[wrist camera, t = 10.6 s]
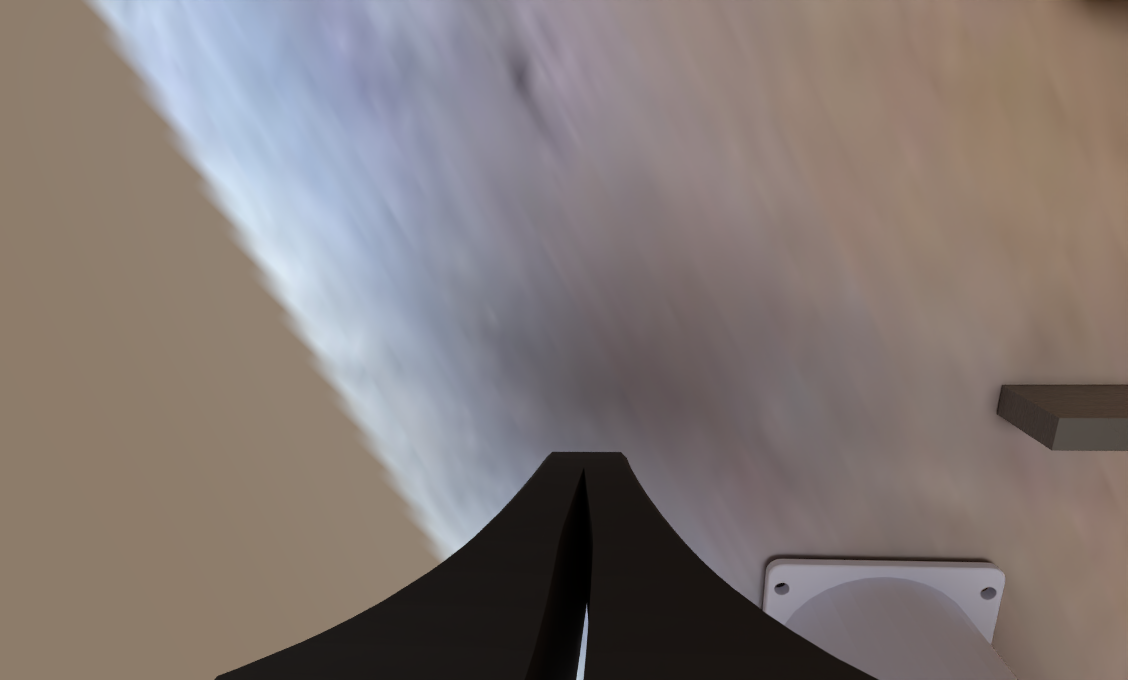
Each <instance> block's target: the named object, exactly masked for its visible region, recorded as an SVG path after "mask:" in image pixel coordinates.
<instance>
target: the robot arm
mask: <svg viewBox="0 0 1128 680" xmlns="http://www.w3.org/2000/svg"><path fill="white" fill-rule="evenodd" d="M778 583H786V584H785V585H784V586H782V587H775V586H776V585H777V584H778ZM1004 585H1005V575H1004V573H1003V572H1002V571H1001V570H1000V569H999V567H998V566H996V565H995V564H993V563H984V562H930V561H875V560H821V559H776V560H774V561H772V562H770V564H769V565H768V566H767V569H766V576H765V588H764V600H763V611H762V610H761V609H760V608H759V607H757V606H756V605H755V604H753V603H752V602H751V601H749V600H748V599H747V598H745V597H744V596H743V595H741V594H740V593H739V592H737V591H736V590H735V589H733V588H732V587H731V586H730V585H729V584H727V583H726V582H725V581H724V580H723V579H721V578H720V577H719V576H718V575H717V574H716V573H715V572H714V571H712V570H711V569H710V568H709V567H708V566H707V565H706V564H705V563H704V562H703V561H702V560H701V559H700V558H699V557H698V556H697V555H696V554H695V553H694V552H693V551H692V550H691V549H690V548H689V547H688V545H687V544H686V543H685V542H684V541H683V540H682V539H681V538H680V536H679V535H678V534H677V533H676V532H675V531H674V530H673V528H672V527H671V526H670V525H669V523H668V522H667V521H666V520H665V518H664V517H663V516H662V515H661V513H660V512H659V510H658V509H657V508H656V506H655V505H654V504H653V502H652V501H651V500H650V498H649V497H648V495H647V494H646V492H645V491H644V489H643V488H642V486H641V485H640V483H639V481H638V480H637V478H636V476H635V475H634V473H633V471H632V469H631V467H630V465H629V463H628V460H627V458H626V457H625V456H624V455H623V454H622V453H621V452H552V453H551V454H550V455H549V456H548V457H546V459H545V460H544V461H543V463H542V464H541V465H540V467H539V468H538V469H537V470H536V472H535V473H534V474H533V475H532V477H531V478H530V479H529V480H528V481H527V483H526V484H525V485H524V486H523V487H522V489H521V490H520V491H519V492H518V493H517V494H516V495H515V496H514V497H513V499H512V500H511V501H510V502H509V503H508V504H507V505H506V506H505V507H504V508H503V509H502V511H501V512H500V513H499V514H498V515H497V516H496V517H494V518H493V519H492V520H491V521H490V522H489V523H488V524H487V525H486V526H485V527H484V528H483V529H482V530H481V531H480V532H479V533H478V534H477V535H476V536H475V537H474V538H472V539H471V540H470V541H469V542H468V543H467V544H466V545H464V546H463V547H462V548H461V549H459V550H458V551H457V552H455V553H454V554H453V555H452V556H450V557H449V558H448V559H446V560H445V561H444V562H442V563H441V564H440V565H438V566H437V567H435V568H434V569H433V570H431V571H430V572H428V573H427V574H425V575H423V576H422V577H420V578H419V579H417V580H416V581H414V582H413V583H411V584H409V585H408V586H406V587H405V588H403V589H401V590H400V591H398V592H397V593H395V594H394V595H392V596H390V597H389V598H387V599H386V600H384V601H382V602H380V603H379V604H377V605H375V606H373V607H372V608H369V609H368V610H366V611H364V612H362V613H360V614H358V615H356V616H355V617H353V618H351V619H349V620H347V621H345V622H343V623H341V624H339V625H337V626H335V627H333V628H331V629H329V630H327V631H325V632H323V633H321V634H318V635H316V636H314V637H312V638H310V639H307V640H305V641H303V642H301V643H298V644H296V645H294V646H291V647H289V648H286V649H284V650H282V651H279V652H277V653H274V654H272V655H269V656H267V657H265V658H262V659H260V660H257V661H255V662H252V663H250V664H247V665H245V666H243V667H240V668H238V669H235V670H233V671H230V672H227V673H225V674H222V675H219V676H217V677H216V679H215V680H576V677H577V670H578V663H579V656H580V648H581V641H582V634H583V627H584V620H585V612H586V605H587V611H588V636H587V649H586V660H585V670H584V680H1018V679H1017V678H1016V677H1015V675H1014V674H1013V673H1012V672H1011V670H1010V669H1009V668H1008V666H1007V665H1006V664H1005V663H1004V661H1003V660H1002V659H1001V658H1000V656H999V655H998V654H997V652H996V651H995V650H994V649H993V647H992V646H991V643H992V638H993V634H994V629H995V625H996V620H997V616H998V612H999V607H1000V603H1001V598H1002V594H1003V589H1004ZM987 587H989V588H988V589H987V590H985V591H983V592H981V591H982V590H983V589H985V588H987Z"/></svg>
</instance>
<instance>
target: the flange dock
mask: <svg viewBox="0 0 1128 680" xmlns="http://www.w3.org/2000/svg"><path fill="white" fill-rule="evenodd" d="M997 414H998V415H999V416H1001V417H1002V418H1004V419H1005V420H1007V421H1008V422H1010V423H1011V424H1013V425H1014V426H1016V427H1017V428H1019V429H1020V430H1022V431H1023V432H1025V433H1026V434H1028V435H1029V436H1031V437H1032V438H1034V439H1035V440H1037V441H1038V442H1040V443H1041V444H1043V445H1044V446H1046V447H1047V448H1049V449H1051V450H1078V451H1128V385H1003V387H1002V392H1001V397H1000V402H999V407H998V412H997Z"/></svg>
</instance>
